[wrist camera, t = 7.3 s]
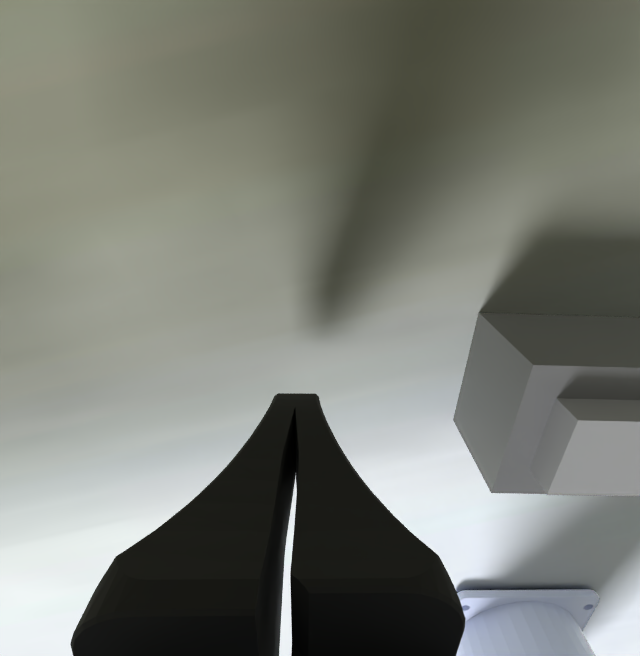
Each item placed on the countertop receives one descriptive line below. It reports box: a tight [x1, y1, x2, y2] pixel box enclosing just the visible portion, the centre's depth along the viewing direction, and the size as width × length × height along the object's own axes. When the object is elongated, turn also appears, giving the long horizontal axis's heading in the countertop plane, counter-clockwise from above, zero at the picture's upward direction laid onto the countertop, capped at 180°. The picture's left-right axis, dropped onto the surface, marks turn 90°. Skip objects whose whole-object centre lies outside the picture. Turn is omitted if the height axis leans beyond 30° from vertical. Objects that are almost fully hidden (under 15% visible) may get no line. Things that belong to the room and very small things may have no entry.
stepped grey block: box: [453, 313, 640, 496], centre depth 13 cm, size 5×9×5 cm, turn 88°
